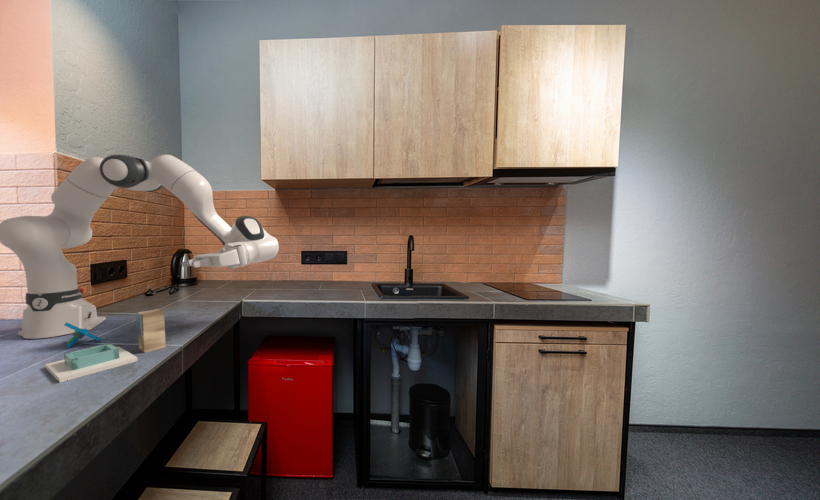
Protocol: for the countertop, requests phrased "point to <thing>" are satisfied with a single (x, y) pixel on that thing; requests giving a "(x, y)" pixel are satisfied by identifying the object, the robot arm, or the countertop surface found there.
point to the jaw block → (151, 330)
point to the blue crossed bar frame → (79, 334)
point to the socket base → (89, 362)
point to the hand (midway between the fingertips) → (187, 264)
